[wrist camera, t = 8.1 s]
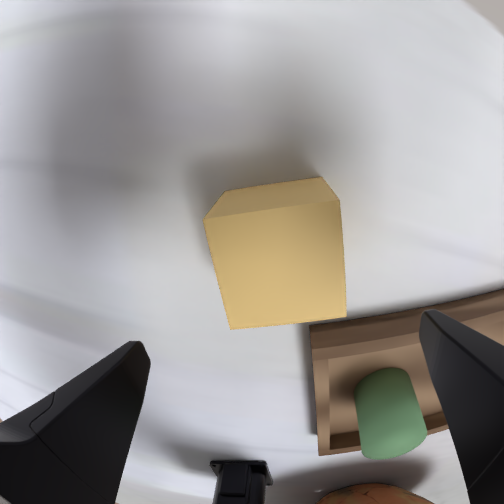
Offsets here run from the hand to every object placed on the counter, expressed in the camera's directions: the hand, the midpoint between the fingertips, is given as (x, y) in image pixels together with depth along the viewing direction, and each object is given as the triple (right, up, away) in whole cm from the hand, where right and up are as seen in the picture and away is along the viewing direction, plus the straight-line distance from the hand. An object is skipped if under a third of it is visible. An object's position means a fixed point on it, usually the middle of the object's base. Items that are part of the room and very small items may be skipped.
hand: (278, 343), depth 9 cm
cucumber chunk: (+10, -8, +13) cm, 18 cm away
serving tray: (+14, -7, +13) cm, 20 cm away
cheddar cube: (+1, +4, +9) cm, 10 cm away
